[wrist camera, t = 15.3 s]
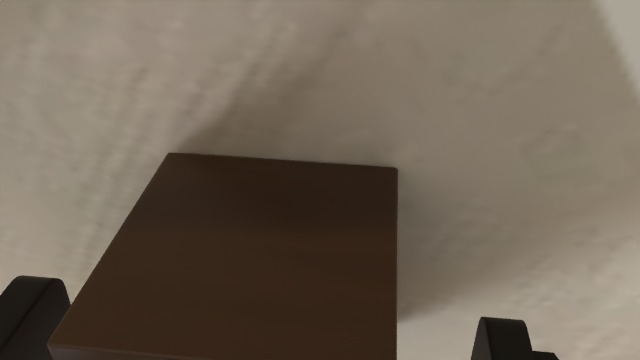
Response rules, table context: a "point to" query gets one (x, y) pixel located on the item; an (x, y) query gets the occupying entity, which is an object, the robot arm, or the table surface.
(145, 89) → the table surface
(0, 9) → the table surface
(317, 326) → the tile
